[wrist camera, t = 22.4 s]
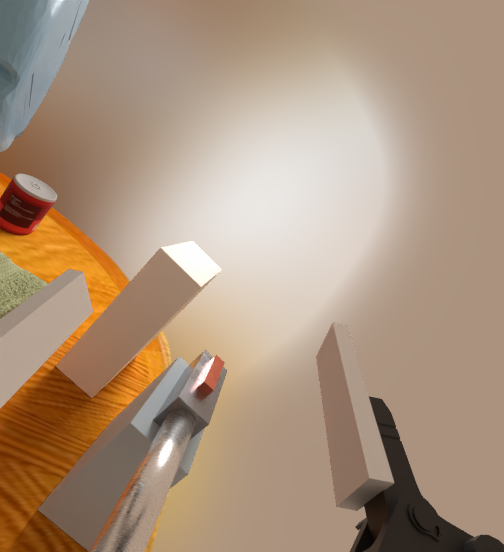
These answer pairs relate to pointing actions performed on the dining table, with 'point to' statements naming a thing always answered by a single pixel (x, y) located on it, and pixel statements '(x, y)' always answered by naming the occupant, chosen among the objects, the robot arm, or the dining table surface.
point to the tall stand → (138, 315)
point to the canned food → (25, 204)
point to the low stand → (113, 464)
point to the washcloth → (16, 285)
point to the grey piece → (163, 456)
